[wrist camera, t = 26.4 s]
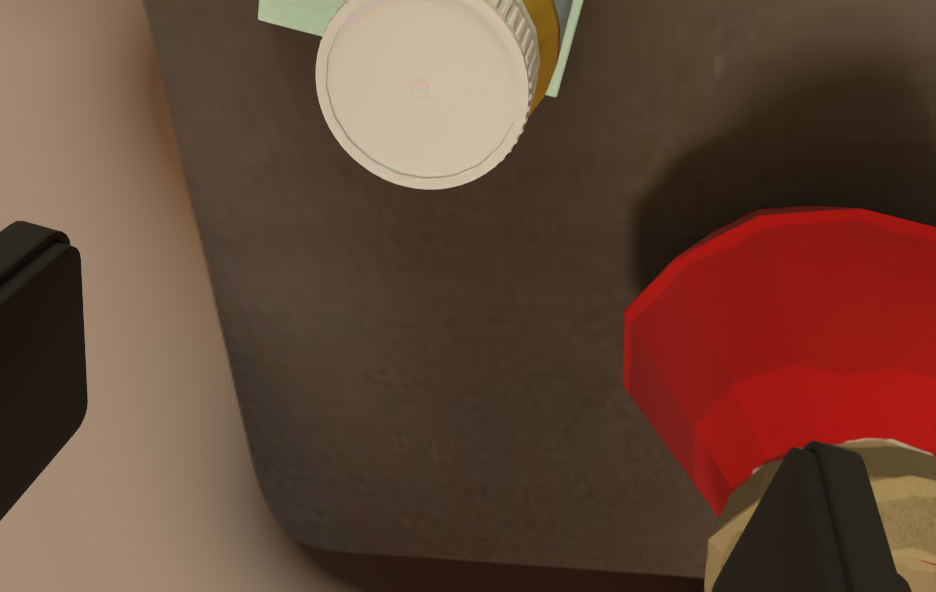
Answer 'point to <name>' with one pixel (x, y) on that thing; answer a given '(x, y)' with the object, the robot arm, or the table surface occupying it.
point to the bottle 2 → (797, 364)
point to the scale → (314, 3)
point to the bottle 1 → (436, 82)
